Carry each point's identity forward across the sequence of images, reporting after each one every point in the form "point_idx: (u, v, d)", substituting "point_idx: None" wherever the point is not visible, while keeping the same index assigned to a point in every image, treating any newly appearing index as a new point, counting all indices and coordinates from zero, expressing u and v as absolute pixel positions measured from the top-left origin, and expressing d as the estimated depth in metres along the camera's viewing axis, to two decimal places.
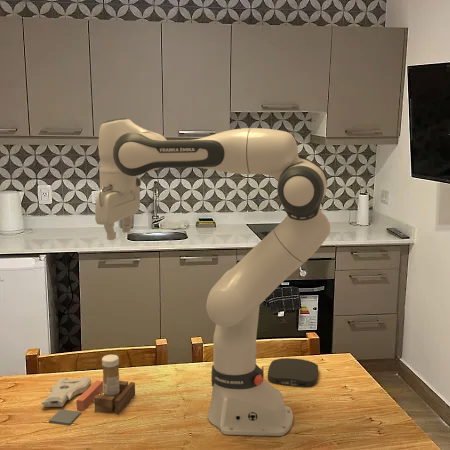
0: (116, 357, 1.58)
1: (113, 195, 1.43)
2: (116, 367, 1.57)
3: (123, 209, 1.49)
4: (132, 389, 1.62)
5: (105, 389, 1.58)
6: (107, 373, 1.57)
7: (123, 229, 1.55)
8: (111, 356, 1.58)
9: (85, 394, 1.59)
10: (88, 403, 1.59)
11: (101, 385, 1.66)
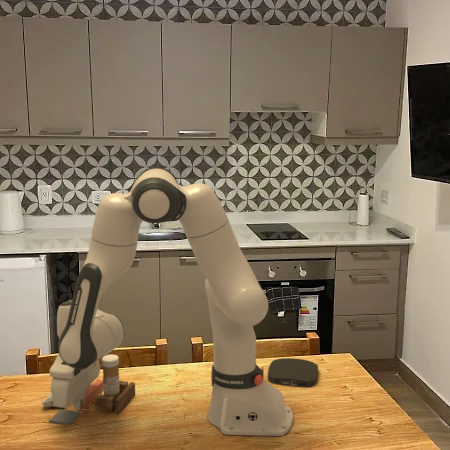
0: (116, 357, 1.58)
1: None
2: (116, 367, 1.57)
3: None
4: (132, 389, 1.62)
5: (105, 389, 1.58)
6: (107, 373, 1.57)
7: None
8: (111, 356, 1.58)
9: (86, 392, 1.60)
10: (89, 402, 1.59)
11: (102, 384, 1.67)
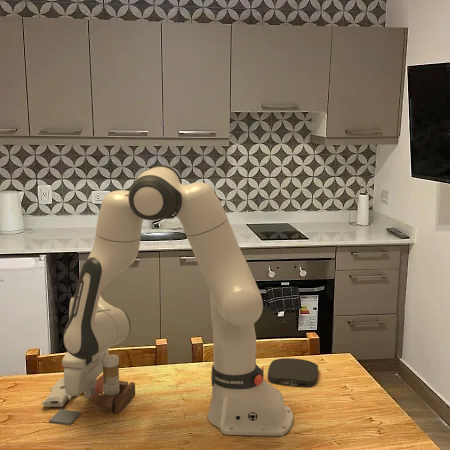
0: (116, 357, 1.58)
1: None
2: (116, 367, 1.57)
3: None
4: (132, 389, 1.62)
5: (105, 389, 1.58)
6: (107, 373, 1.57)
7: None
8: (111, 356, 1.58)
9: (96, 382, 1.66)
10: (99, 391, 1.65)
11: None
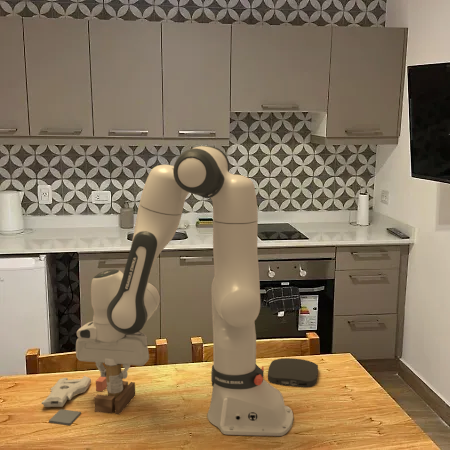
0: None
1: None
2: (118, 365, 1.57)
3: None
4: (132, 389, 1.62)
5: (108, 387, 1.58)
6: (110, 371, 1.56)
7: (105, 374, 1.59)
8: None
9: None
10: (106, 384, 1.70)
11: None
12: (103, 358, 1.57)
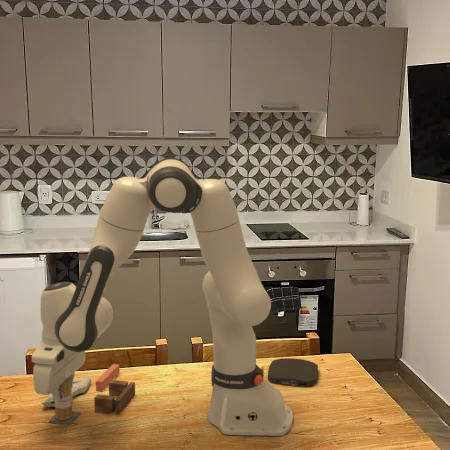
0: None
1: None
2: None
3: None
4: (132, 389, 1.62)
5: (68, 401, 1.50)
6: (69, 382, 1.50)
7: None
8: None
9: (103, 375, 1.70)
10: (106, 384, 1.70)
11: (118, 368, 1.77)
12: (64, 376, 1.48)
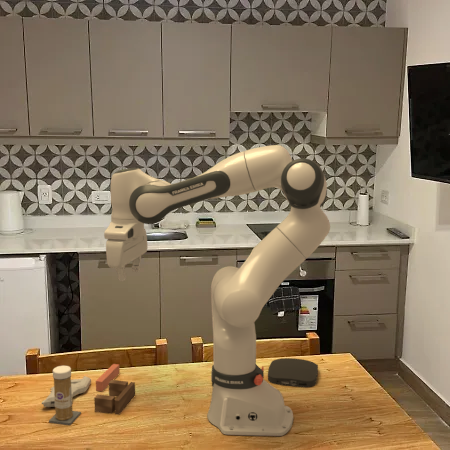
0: (63, 366, 1.51)
1: None
2: None
3: None
4: (132, 389, 1.62)
5: (68, 401, 1.50)
6: (69, 382, 1.50)
7: None
8: (59, 368, 1.50)
9: (103, 375, 1.70)
10: (106, 384, 1.70)
11: (118, 368, 1.77)
12: (132, 256, 1.59)
